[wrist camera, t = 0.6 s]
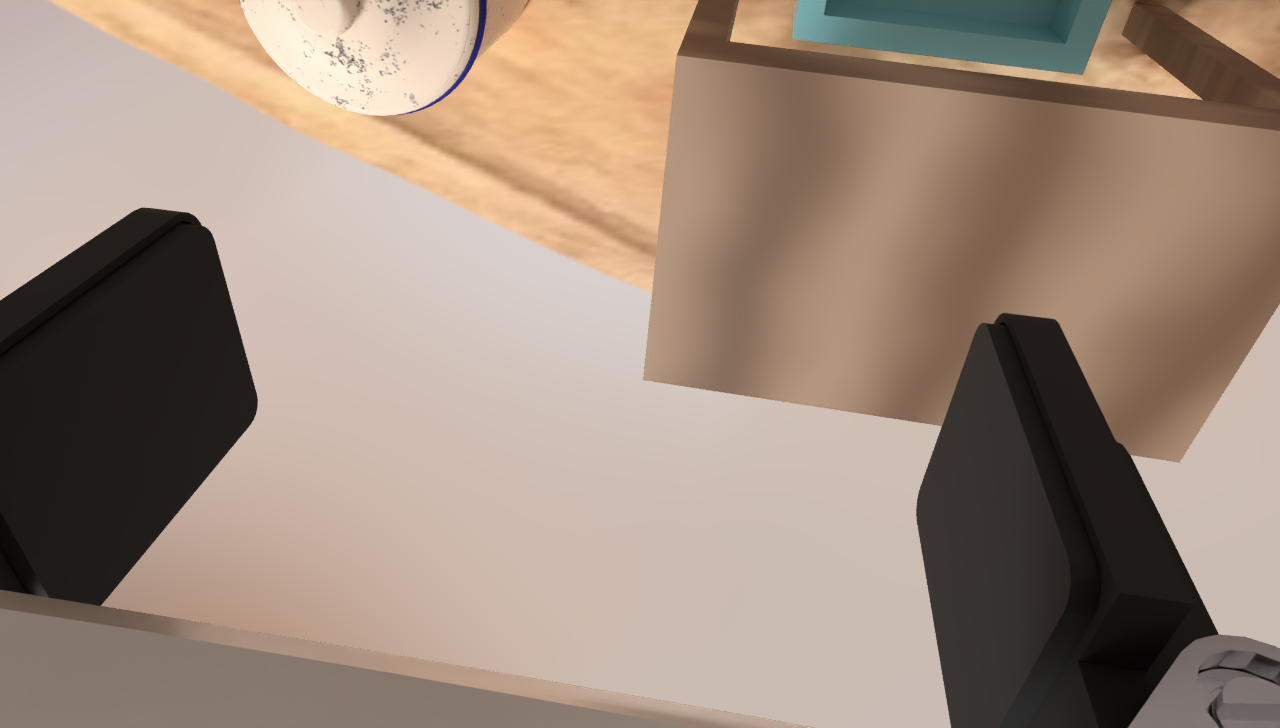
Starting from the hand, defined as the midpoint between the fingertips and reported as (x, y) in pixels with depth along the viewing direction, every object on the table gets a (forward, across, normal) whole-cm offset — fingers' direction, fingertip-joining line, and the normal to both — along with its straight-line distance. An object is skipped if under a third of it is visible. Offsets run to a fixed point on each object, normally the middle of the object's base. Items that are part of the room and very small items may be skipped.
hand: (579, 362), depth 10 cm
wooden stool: (+30, -8, +6) cm, 31 cm away
